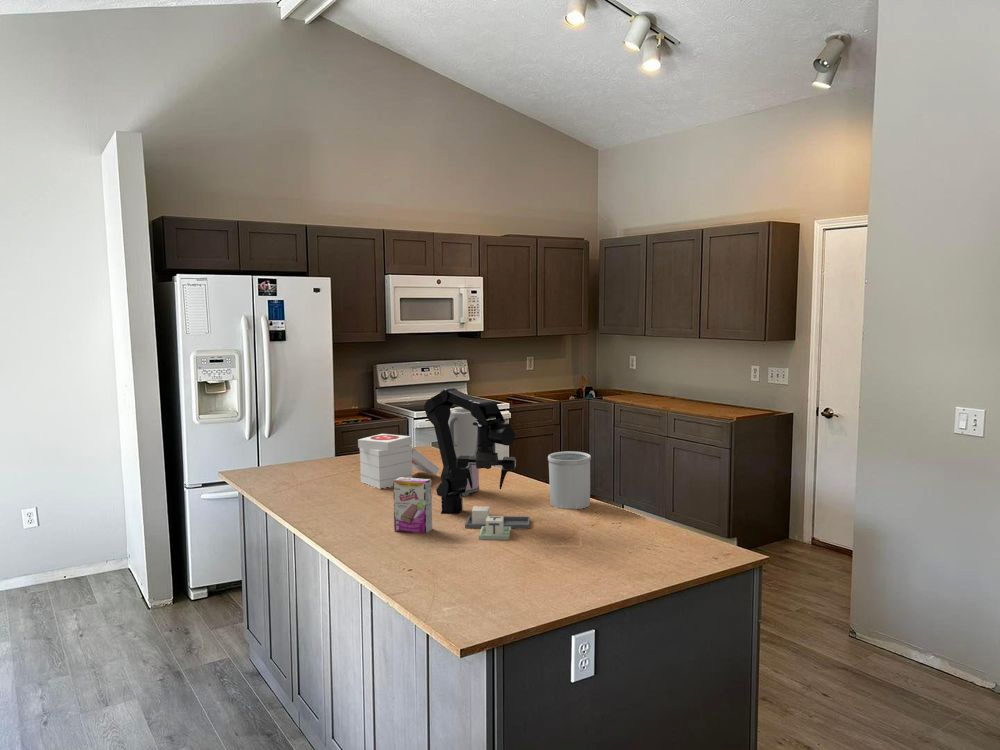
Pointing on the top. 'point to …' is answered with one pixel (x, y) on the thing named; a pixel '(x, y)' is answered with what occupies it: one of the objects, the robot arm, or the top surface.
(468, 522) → the tray left
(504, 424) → the robot arm
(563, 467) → the utensil holder
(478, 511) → the blank cube
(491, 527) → the letter cube
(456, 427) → the blender
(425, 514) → the candy bar box
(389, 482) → the pizza boxes
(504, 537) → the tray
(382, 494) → the top surface
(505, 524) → the tray right
